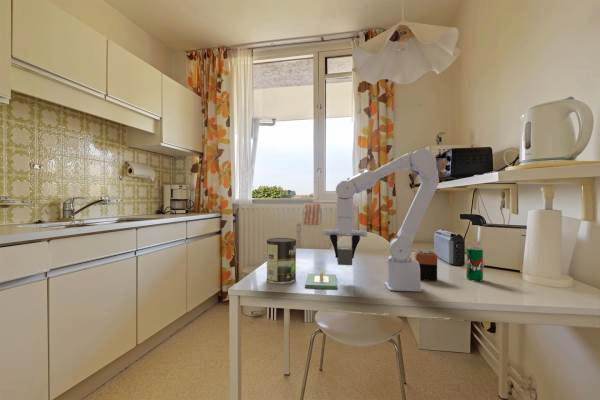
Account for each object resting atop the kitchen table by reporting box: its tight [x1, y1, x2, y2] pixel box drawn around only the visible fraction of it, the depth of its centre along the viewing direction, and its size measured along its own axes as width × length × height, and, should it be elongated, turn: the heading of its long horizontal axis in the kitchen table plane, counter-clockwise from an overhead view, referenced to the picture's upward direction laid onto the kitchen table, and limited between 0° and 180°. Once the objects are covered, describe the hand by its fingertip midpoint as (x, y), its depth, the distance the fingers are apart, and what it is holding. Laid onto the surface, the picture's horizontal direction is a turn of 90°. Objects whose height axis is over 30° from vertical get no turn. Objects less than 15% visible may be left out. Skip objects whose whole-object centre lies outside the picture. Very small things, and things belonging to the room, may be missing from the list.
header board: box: [304, 269, 338, 290], centre depth 97 cm, size 10×14×4 cm
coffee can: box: [266, 237, 297, 285], centre depth 100 cm, size 10×10×14 cm
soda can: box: [465, 244, 484, 282], centre depth 102 cm, size 5×5×12 cm
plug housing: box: [336, 245, 353, 266], centre depth 97 cm, size 5×8×5 cm, turn 174°
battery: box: [414, 250, 438, 282], centre depth 102 cm, size 4×7×10 cm, turn 74°
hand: (344, 257), depth 96 cm, fingers closed on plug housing, 5 cm apart
